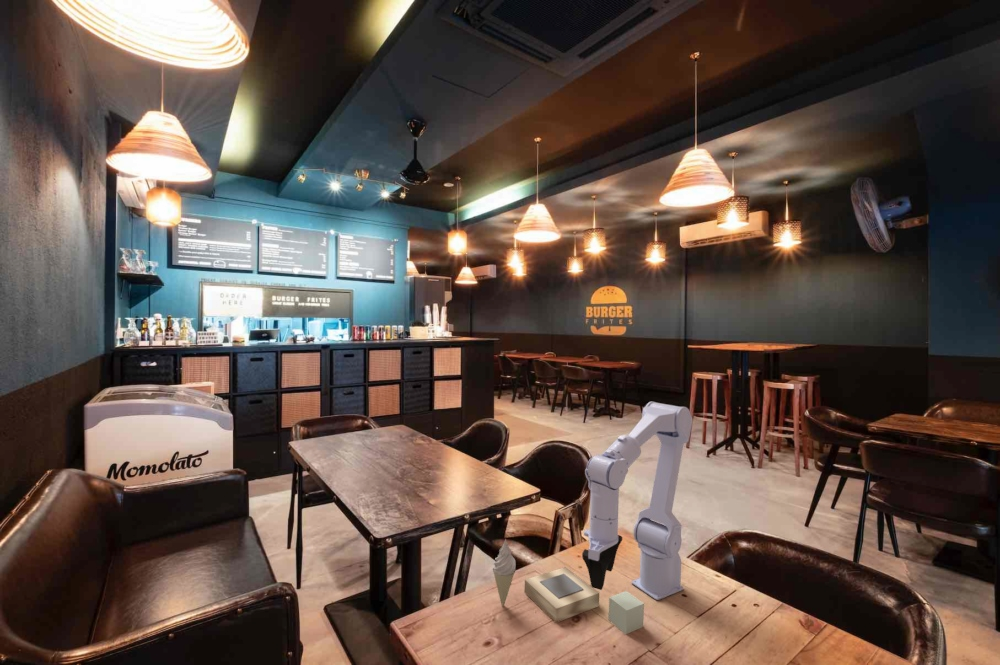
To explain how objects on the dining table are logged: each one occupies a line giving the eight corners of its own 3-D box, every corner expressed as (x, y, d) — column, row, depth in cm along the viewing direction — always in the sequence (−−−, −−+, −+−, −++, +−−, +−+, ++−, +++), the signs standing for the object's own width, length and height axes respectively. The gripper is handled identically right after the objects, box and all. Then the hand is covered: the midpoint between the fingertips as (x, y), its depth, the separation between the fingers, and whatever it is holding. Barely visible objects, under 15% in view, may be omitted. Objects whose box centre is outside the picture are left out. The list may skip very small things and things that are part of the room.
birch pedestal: (565, 578, 111) (565, 566, 111) (599, 606, 101) (599, 591, 100) (524, 592, 105) (524, 578, 105) (556, 622, 94) (556, 607, 94)
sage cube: (625, 613, 98) (626, 590, 98) (643, 627, 94) (644, 603, 94) (608, 620, 96) (609, 597, 96) (625, 634, 92) (626, 610, 91)
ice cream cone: (512, 614, 97) (514, 545, 96) (489, 611, 98) (491, 542, 97) (516, 600, 101) (518, 534, 101) (494, 597, 102) (496, 532, 102)
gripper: (595, 498, 102) (593, 557, 103) (574, 523, 90) (572, 590, 90) (626, 505, 99) (624, 566, 100) (609, 531, 86) (607, 601, 87)
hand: (602, 578), depth 95 cm, fingers open, 7 cm apart
